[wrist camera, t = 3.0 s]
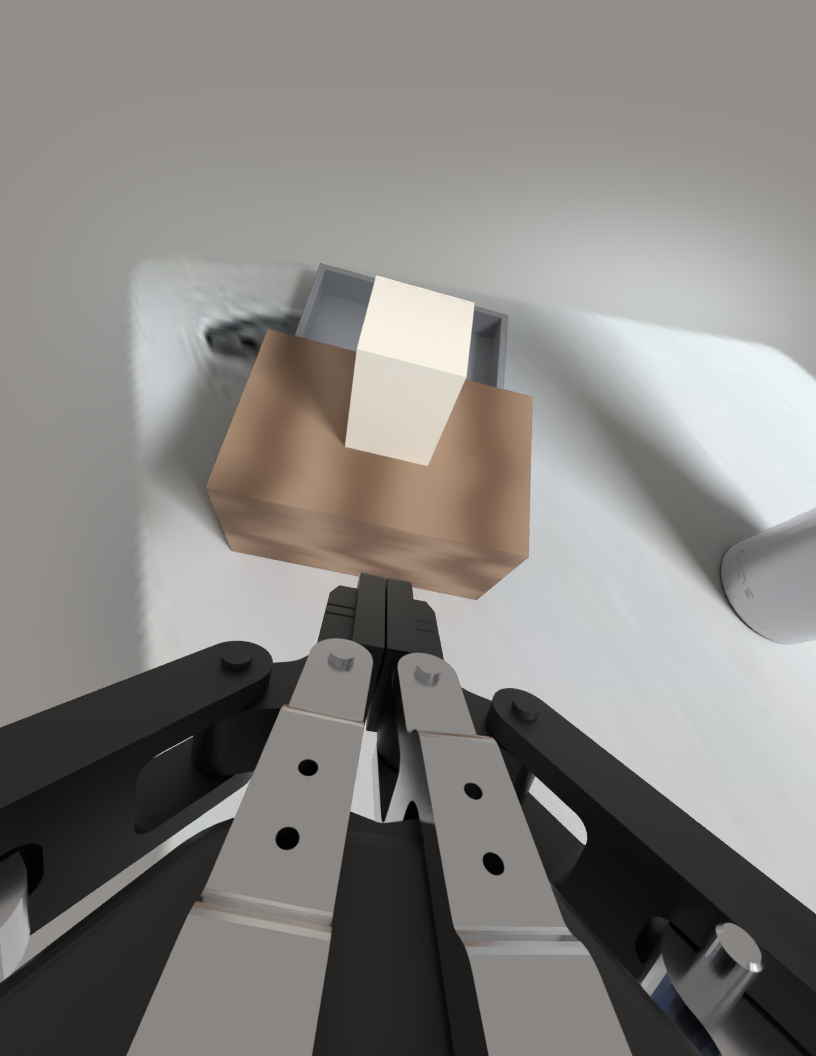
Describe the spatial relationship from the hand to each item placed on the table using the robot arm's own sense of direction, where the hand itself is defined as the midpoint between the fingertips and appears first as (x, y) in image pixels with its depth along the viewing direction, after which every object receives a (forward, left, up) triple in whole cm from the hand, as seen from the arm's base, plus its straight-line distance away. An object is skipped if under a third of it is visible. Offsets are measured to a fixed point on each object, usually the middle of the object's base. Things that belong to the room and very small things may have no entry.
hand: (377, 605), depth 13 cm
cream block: (0, -14, -9) cm, 17 cm away
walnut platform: (0, -13, -18) cm, 23 cm away
